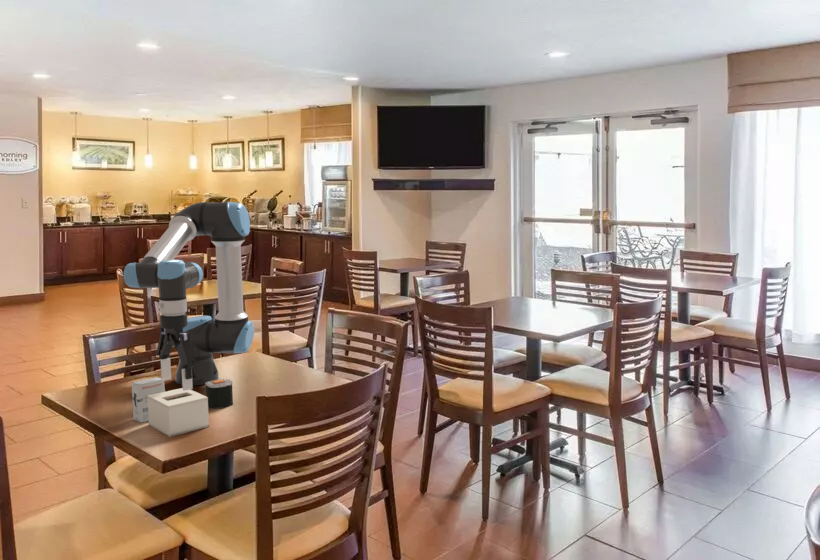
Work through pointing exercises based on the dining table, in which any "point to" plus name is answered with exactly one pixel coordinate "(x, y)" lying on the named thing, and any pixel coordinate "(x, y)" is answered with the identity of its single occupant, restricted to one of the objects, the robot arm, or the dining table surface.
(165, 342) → the robot arm
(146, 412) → the ink box
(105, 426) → the dining table surface
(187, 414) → the tissue box
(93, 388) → the dining table surface
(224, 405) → the sushi
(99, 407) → the dining table surface
